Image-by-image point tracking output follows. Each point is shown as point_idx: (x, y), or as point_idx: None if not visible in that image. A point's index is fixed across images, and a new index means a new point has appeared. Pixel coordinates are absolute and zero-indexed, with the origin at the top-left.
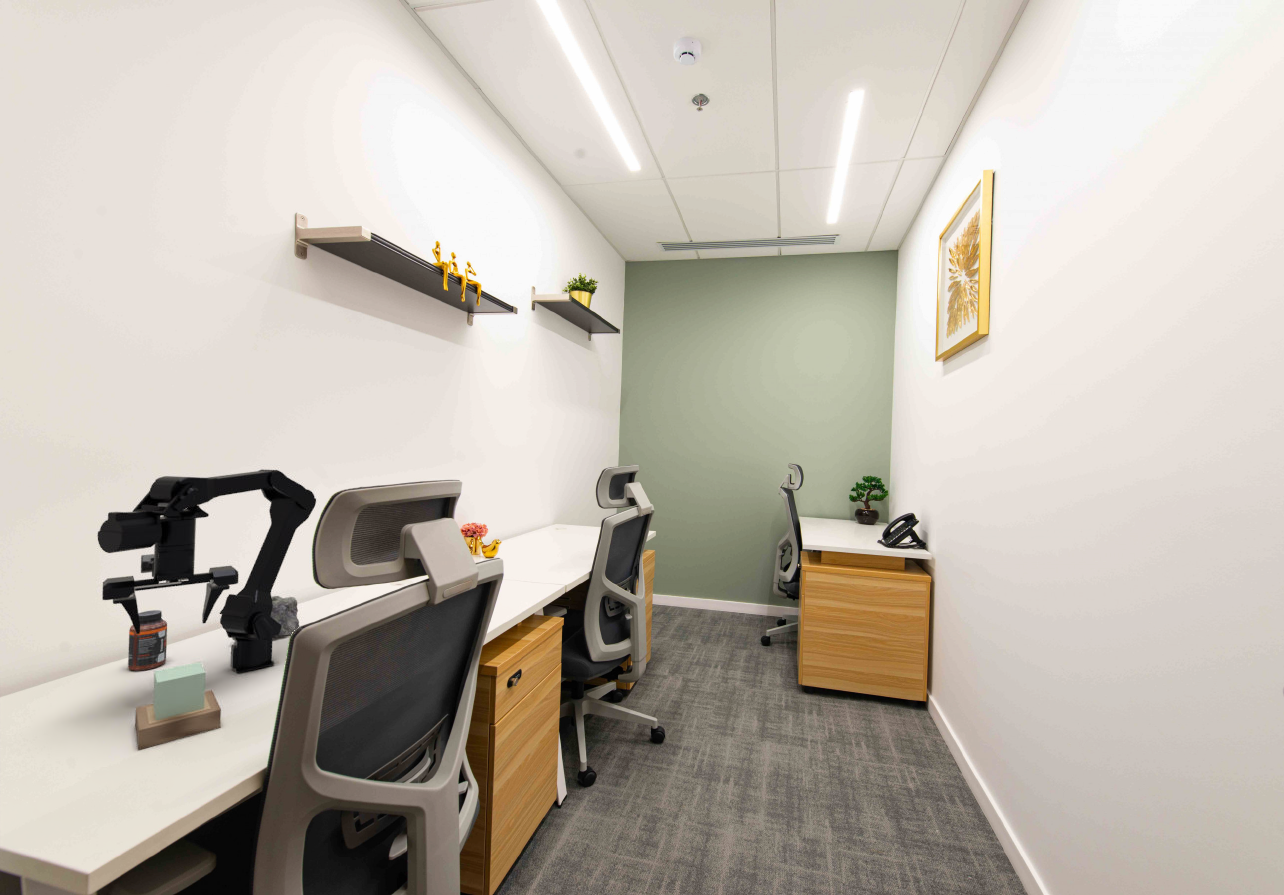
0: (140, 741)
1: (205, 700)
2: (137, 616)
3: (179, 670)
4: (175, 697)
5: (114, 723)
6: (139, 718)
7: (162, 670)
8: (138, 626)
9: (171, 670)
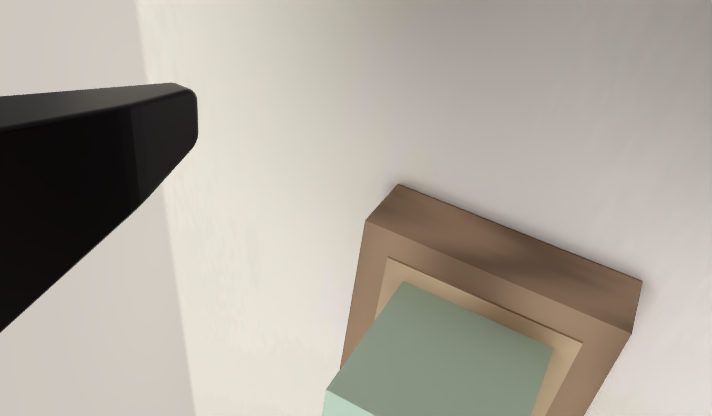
0: None
1: (546, 399)
2: (24, 300)
3: None
4: None
5: (357, 95)
6: (354, 317)
7: (351, 413)
8: (129, 205)
9: None
